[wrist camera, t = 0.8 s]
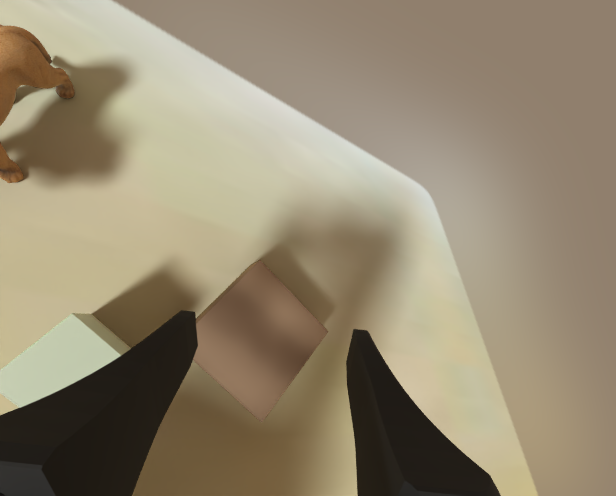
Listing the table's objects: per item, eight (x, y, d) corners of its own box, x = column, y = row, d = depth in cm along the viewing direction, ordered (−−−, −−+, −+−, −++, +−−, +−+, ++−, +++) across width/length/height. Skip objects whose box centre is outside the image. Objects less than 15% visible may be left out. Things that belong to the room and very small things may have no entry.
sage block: (82, 406, 21) (58, 437, 16) (29, 364, 20) (-15, 382, 15) (137, 354, 23) (132, 365, 18) (91, 313, 22) (71, 313, 17)
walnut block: (249, 410, 26) (261, 422, 23) (173, 340, 24) (175, 344, 21) (310, 329, 30) (328, 331, 27) (248, 266, 29) (260, 260, 26)
